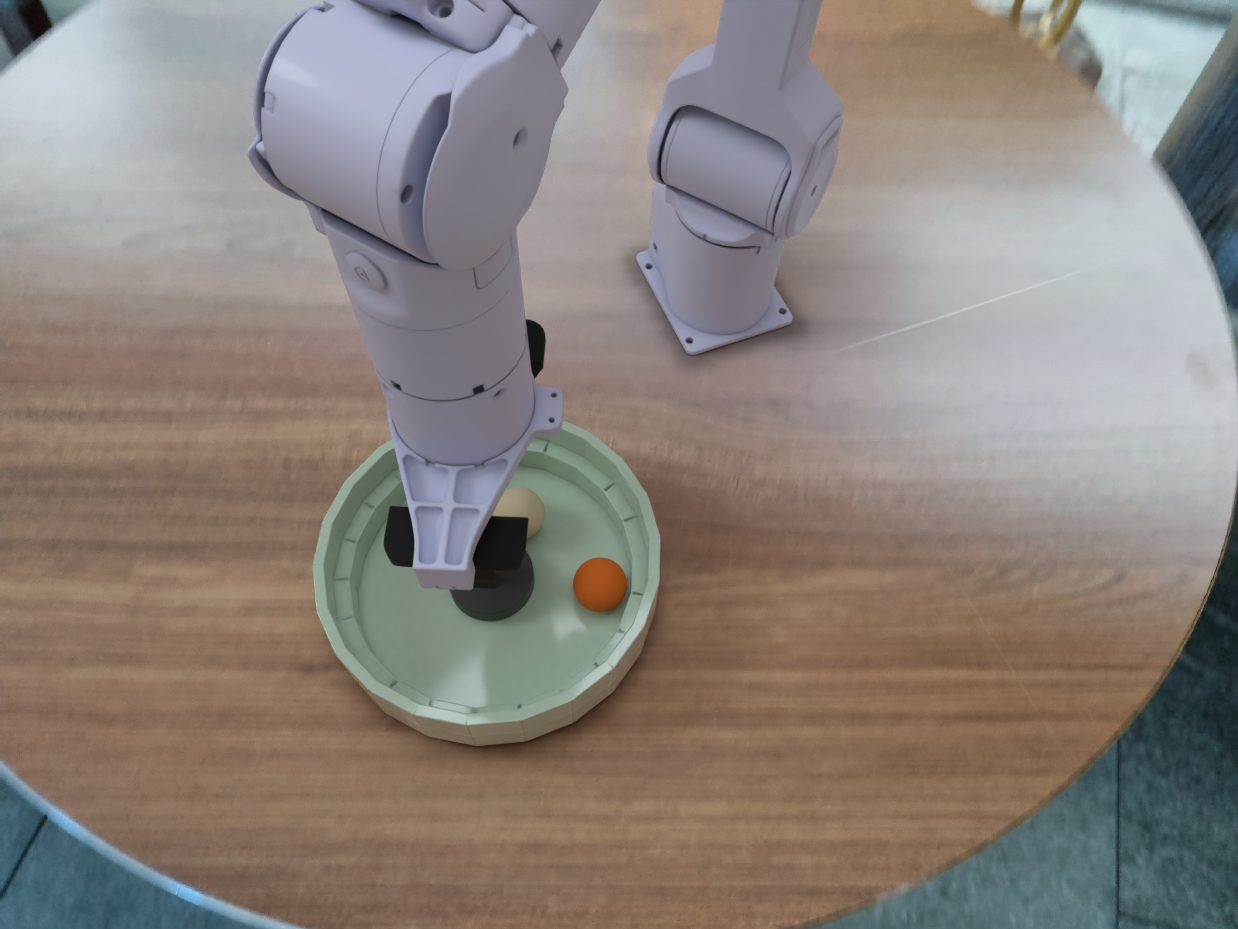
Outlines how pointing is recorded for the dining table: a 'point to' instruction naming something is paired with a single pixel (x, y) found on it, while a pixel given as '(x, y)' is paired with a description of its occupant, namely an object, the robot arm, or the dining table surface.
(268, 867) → the dining table surface
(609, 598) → the orange ball
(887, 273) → the dining table surface
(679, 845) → the dining table surface
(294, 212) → the dining table surface
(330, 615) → the bowl
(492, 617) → the black peg stand
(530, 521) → the beige ball
